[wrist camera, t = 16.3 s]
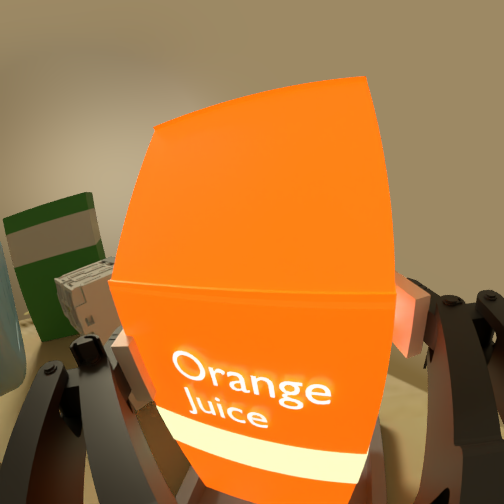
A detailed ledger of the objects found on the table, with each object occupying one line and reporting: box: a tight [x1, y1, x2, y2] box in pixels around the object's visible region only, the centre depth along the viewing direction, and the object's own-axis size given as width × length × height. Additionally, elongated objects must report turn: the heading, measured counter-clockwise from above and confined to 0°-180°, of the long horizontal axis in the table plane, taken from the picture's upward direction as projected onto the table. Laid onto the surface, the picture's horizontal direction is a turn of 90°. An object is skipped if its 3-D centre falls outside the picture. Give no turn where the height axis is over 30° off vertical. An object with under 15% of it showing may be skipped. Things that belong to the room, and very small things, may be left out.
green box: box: [3, 192, 106, 342], centre depth 42 cm, size 18×7×24 cm, turn 114°
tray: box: [175, 416, 387, 504], centre depth 15 cm, size 14×13×2 cm
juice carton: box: [108, 76, 397, 504], centre depth 11 cm, size 8×9×20 cm
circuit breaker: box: [54, 257, 151, 411], centre depth 29 cm, size 8×14×15 cm, turn 144°
